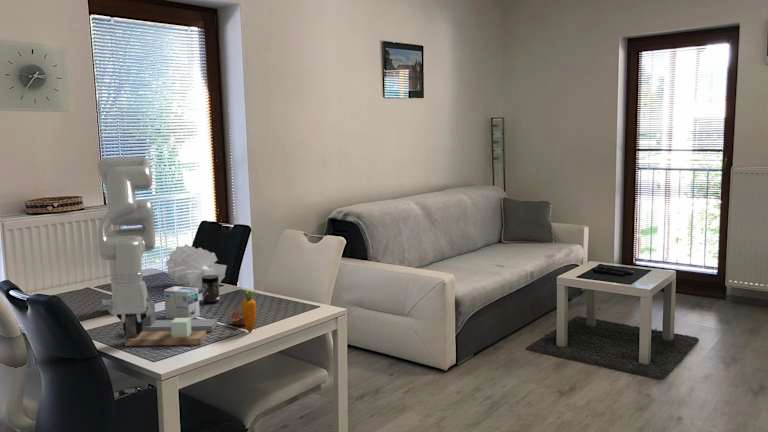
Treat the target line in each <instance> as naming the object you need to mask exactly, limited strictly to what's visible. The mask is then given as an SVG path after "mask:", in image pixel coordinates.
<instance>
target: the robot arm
mask: <svg viewBox="0 0 768 432" xmlns="http://www.w3.org/2000/svg"><path fill="white" fill-rule="evenodd" d="M96 165H97V167H96V168H97V172H98V175H99V178H100V179H101V181H102V184H103V185H104V187H105V190H106V199H107V200H106V202H107V203H106V204H107V212H106V213H105V214H104V215H103V216H102V218H101V220H100V221H99V223H98V227H97V232H96V233H97V246H98V247H97V248H98V254H99V256H100V258H101V260H104V261H109V270H110V282H111V283H110V286H111V299H102V301H101V305H102V306H103V307H109V308H108V313H109V314H111V315H112V316H115V317H117V318H118V319H119V320H120V321H121V323H122V329H123V332H124V335H125V336H126V325H125V317H126V316H127V315H128V314H136V315H137V323H136V332H137V334H140V333H141V332H142V331H143V319H144V318H145V317H146V316H148V315H150V314H152V313H153V310H152V308H151V307H150V305H149V302H150V301H149V295H148V289H147V285H146V282H145V280H143V265H142V256H143V255H144V253H147V252H151V251H153V250H154V249H155V248H156V228H155V214H154V213H155V212H154V206H153V205H152V202H151V201H150V200H148V199H141V198H140V199H137V198H136V192H135V191H143V190H144V191H146V190H149V189H151V188H152V186H153V173H152V169H151V165H150V163H149V160H148V158H146V157H144V156H119V157H118V156H116V157H104V158H101V159H99V160H98V161H97V164H96ZM112 225H113V226H116V227H117V226H119V227H122V226H123V228H117V229H112V230H110V231H108V229H109V228H110V227H111V226H112ZM138 225H139V226H140V227H127V226H138ZM125 226H126V228H124V227H125ZM107 231H108V232H107ZM146 310H147V312H145V311H146ZM144 312H145V313H144ZM143 313H144V314H143Z"/></svg>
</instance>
